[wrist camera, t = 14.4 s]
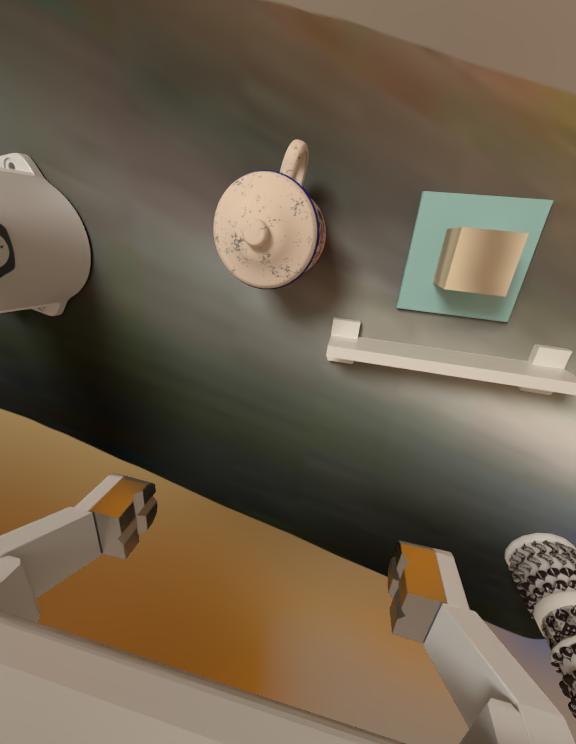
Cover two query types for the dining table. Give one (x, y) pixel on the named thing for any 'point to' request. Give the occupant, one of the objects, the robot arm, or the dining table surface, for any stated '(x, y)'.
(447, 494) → the dining table surface
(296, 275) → the teacup with lid
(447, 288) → the maple block
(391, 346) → the divider wall
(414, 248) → the pad
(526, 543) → the decorative candle
